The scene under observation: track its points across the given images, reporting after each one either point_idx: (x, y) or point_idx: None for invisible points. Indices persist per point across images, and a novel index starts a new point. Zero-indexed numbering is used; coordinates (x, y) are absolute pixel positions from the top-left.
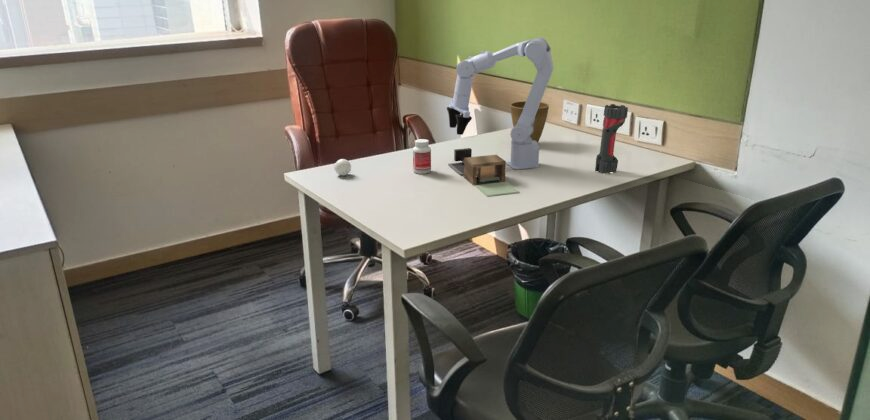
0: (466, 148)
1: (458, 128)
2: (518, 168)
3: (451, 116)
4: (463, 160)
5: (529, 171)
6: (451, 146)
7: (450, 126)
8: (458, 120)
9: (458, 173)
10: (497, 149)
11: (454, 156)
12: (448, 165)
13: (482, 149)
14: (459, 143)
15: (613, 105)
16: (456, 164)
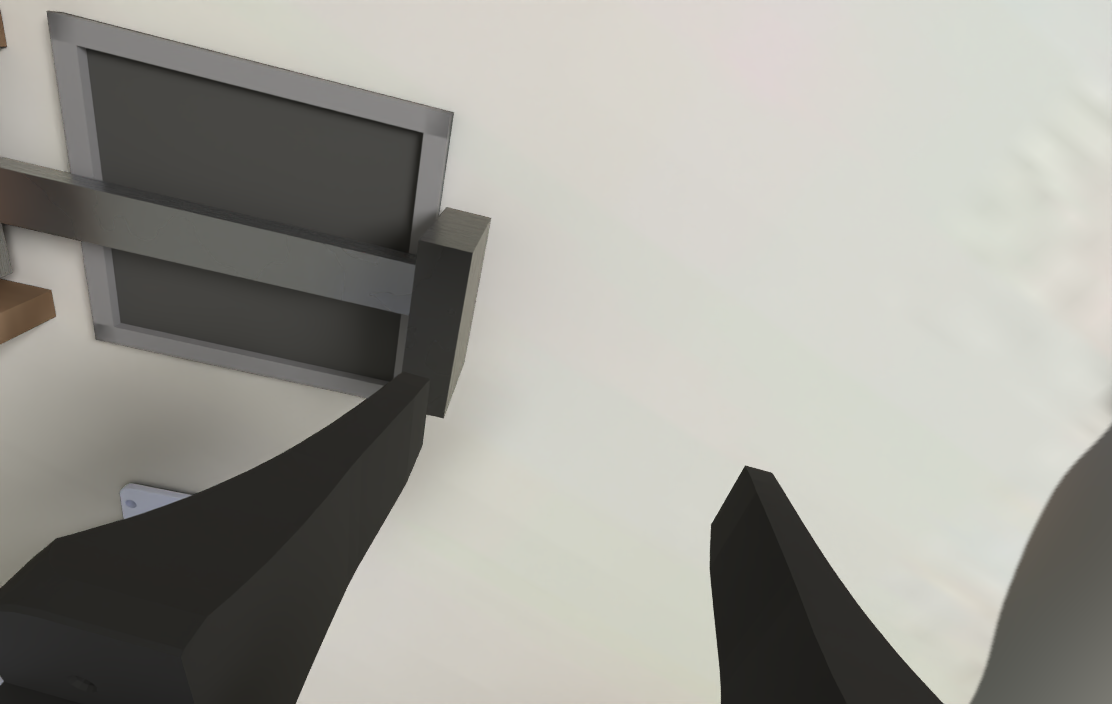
0: (446, 383)
1: (334, 430)
2: (122, 505)
3: (791, 648)
4: (365, 252)
5: (81, 528)
6: (928, 465)
7: (747, 478)
8: (124, 520)
9: (138, 32)
10: (621, 641)
11: (479, 228)
12: (447, 111)
13: (686, 580)
14: (938, 549)
15: None
16: (417, 189)
